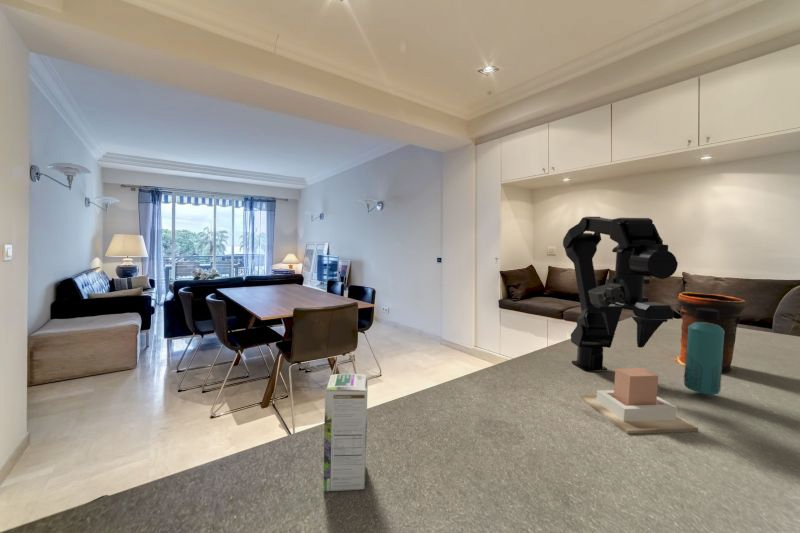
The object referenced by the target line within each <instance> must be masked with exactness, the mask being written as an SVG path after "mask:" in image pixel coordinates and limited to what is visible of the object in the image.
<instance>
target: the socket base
mask: <svg viewBox="0 0 800 533" xmlns="http://www.w3.org/2000/svg"><path fill="white" fill-rule="evenodd" d="M596 398H597V394H594V395H593V394H591V395H590V394H589V395H585V394H584V395H580V399H581V400H582V401H583V402H585V403H586V404H587V405H589V406H590V407H591V408H592V409H594V410H595V411H596V412H598V413H599V414H600V415H602V416H603V417H605V418H606V419H607V420H608V421H610V423H612V424H614V425H615V426H616V427H618V428H619V429H621V430H622V431H623V432H624V433H626V434H627V435H629V434H632V435H633V434H654V433H655V434H657V433H677V432H678V433H683V432H685V433H687V432H699V427H697V426H696V425H694V424H692V423H691V422H689V421H687V420H686V419H683V418H682V417H680V416H678V415H677V414H676V420H656V421H627V422H623V421H622V420H621V419H619V418H618V417H617V416H615V415H614V414H612V413H611V412H610V411H608V410H607V409H606V408H604V407H603V406H601V405H600V404H599V403H597V402H596Z"/></svg>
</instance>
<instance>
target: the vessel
mask: <svg viewBox="0 0 800 533" xmlns="http://www.w3.org/2000/svg"><path fill="white" fill-rule="evenodd" d="M677 301H678V303H679V304H680V306H681V307H682V309H681V310H680V312H679V314H680V317H681V320H682V323H681V326H680V328H681V334H680V335H681V338H680V340H679V341H680V355H679V356H675V357H674V361H675V362H677V363H678V364H680V365H682V366H685V363H686V360H685V359H686V357H685V356H686V350H687V346H686V345H687V340H688V326H689V325H691V324H692V323H694V322H706V323H712V324H716V325H719V326H720V327H721V328H722V329H723V330H724V331H725V333H724V343H723V359H722V361H723V362H722V364H723V365H722V367H723V368H722V372H721V374H737V371H738V369H737V368H736V367H733V366H731V364H732V363H733V362H732V361H733V357H734V349H735V345H736V344H735V342H736V338H737V335H736V334H737V327H738V324H740V321H741V314H742V312H743V311H744V310H745V309H746V307H747V301H746V300H745V299H743V298H742V299H741V298H739V297H734V296H728V295H723V294H715V293H714V294H710V293H702V292H701V293H700V292H683V291H682V292H681V293H679V294H678V296H677ZM697 308H707V309H714V310H718V311H719V320H706V319H700V318H696V317H695V313H696V309H697Z"/></svg>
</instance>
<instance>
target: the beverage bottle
mask: <svg viewBox="0 0 800 533" xmlns="http://www.w3.org/2000/svg"><path fill="white" fill-rule="evenodd" d="M695 317H696V318H700V319H706V320H719V311H718V310H714V309H707V308H697V309H696V313H695ZM724 333H725V331H724V330H723V329H722V328H721V327H720V326H719V325H716V324H712V323H706V322H694V323H692V324H691V325H689V326H688V340H687V345H686V346H687V350H686V356H685V357H686V359H685V360H686V363H685V365H683V366H684V374H683V384H684V386H685V388H687V389H688V390H690V391H693V392H696V393H699V394H700V393H701V394H704V395H718V394H719V393H720V391H722V390H721V388H722V387H721V385H722V373H721V372H722V368H723V367H722V365H723V364H722V362H723V361H722V359H723V343H724Z"/></svg>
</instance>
